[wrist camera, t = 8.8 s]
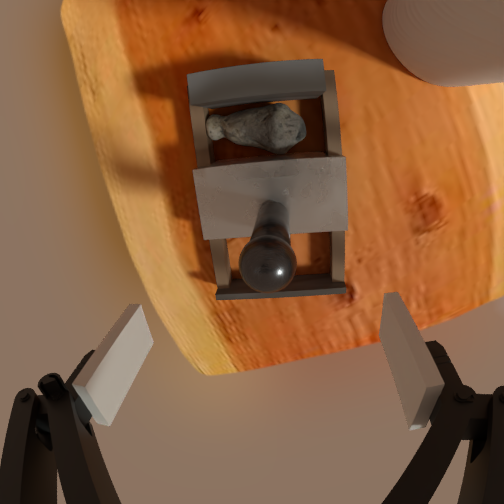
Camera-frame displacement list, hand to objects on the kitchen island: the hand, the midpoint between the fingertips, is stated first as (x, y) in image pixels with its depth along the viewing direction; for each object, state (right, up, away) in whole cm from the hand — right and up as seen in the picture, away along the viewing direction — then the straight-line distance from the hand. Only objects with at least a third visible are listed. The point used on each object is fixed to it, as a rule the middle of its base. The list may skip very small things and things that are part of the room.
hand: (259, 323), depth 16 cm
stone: (0, +18, +18) cm, 26 cm away
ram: (+2, +11, +20) cm, 23 cm away
